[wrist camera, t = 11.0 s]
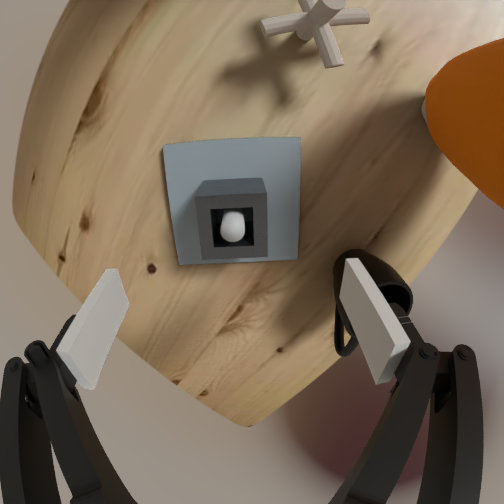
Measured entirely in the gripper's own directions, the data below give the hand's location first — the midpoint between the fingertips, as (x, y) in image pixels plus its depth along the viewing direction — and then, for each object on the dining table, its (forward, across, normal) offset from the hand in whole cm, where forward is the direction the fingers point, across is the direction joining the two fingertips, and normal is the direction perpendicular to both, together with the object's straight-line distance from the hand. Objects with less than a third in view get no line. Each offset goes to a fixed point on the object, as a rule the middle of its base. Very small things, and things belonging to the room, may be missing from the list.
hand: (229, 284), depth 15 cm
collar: (+15, 0, -1) cm, 15 cm away
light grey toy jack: (+17, +8, +18) cm, 26 cm away
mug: (+16, +14, -12) cm, 24 cm away
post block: (+16, 0, -1) cm, 16 cm away
